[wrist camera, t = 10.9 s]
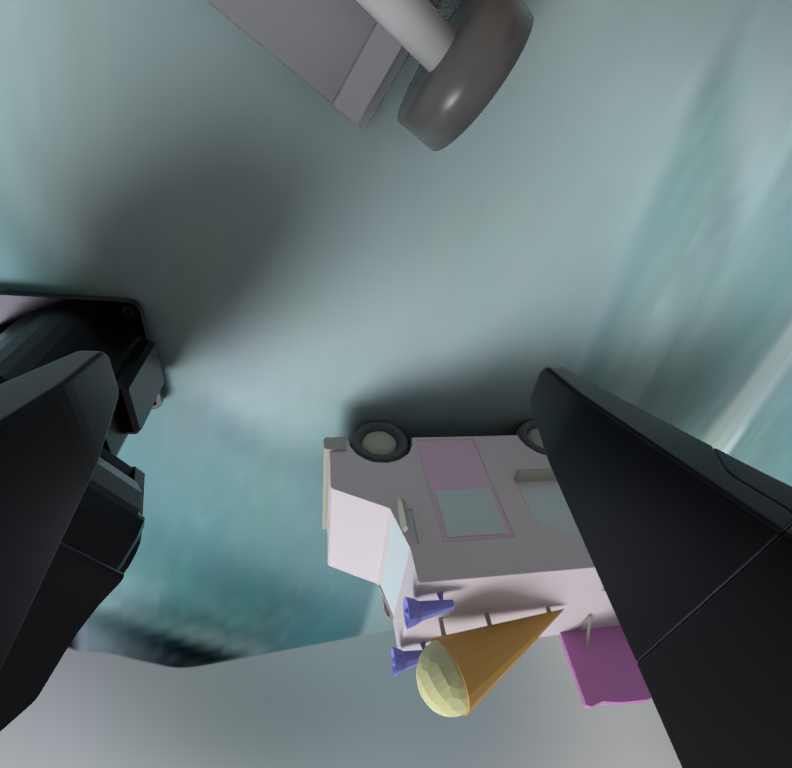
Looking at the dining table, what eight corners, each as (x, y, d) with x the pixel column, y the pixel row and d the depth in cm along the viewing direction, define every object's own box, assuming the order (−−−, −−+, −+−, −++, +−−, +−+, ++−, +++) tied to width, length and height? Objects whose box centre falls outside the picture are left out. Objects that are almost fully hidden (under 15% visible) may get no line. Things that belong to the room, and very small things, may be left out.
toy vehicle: (323, 407, 26) (329, 692, 14) (602, 406, 30) (793, 629, 18) (321, 503, 31) (324, 766, 19) (558, 491, 35) (682, 707, 23)
